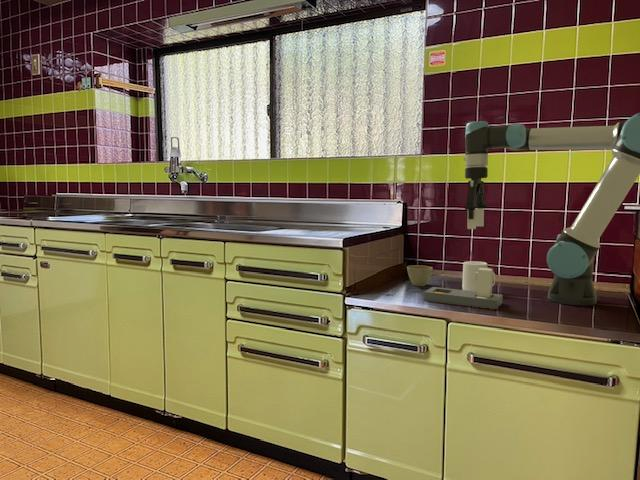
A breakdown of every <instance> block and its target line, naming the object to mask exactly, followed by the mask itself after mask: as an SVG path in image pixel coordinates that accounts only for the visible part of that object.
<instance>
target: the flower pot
mask: <svg viewBox="0 0 640 480" xmlns="http://www.w3.org/2000/svg"><path fill="white" fill-rule="evenodd" d="M406 270H407V274H408V278H409V280H410V282H411V284H412V285H413V286H416V287H425V286H426V285H427V284H428V283H429V280H430V279H431V276H432V273H433V270H434V269H433V266H428V265H408V266H406Z"/></svg>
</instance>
